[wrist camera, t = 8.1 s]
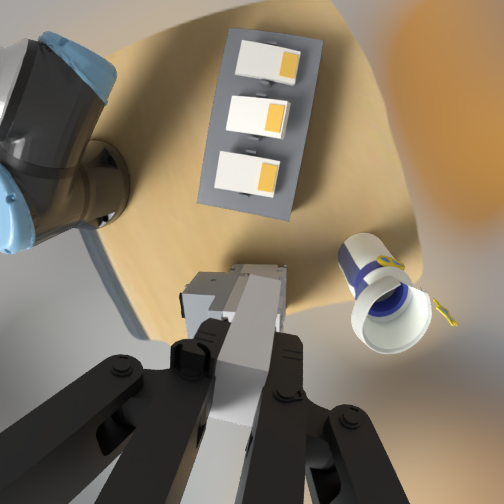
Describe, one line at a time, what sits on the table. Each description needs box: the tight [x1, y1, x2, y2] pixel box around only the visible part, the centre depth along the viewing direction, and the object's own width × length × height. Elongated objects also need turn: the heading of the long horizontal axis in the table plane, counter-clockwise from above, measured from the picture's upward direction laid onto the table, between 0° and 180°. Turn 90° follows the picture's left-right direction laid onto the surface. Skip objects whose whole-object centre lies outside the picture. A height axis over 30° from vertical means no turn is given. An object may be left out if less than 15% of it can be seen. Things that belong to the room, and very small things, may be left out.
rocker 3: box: [214, 151, 280, 198], centre depth 35 cm, size 7×4×1 cm, turn 80°
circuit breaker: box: [179, 264, 287, 339], centre depth 41 cm, size 8×14×15 cm, turn 91°
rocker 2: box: [226, 96, 291, 139], centre depth 33 cm, size 7×4×1 cm, turn 80°
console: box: [197, 28, 323, 222], centre depth 37 cm, size 12×24×8 cm, turn 170°
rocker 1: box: [235, 40, 301, 86], centre depth 31 cm, size 7×4×1 cm, turn 80°
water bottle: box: [338, 233, 458, 354], centre depth 32 cm, size 8×8×25 cm
